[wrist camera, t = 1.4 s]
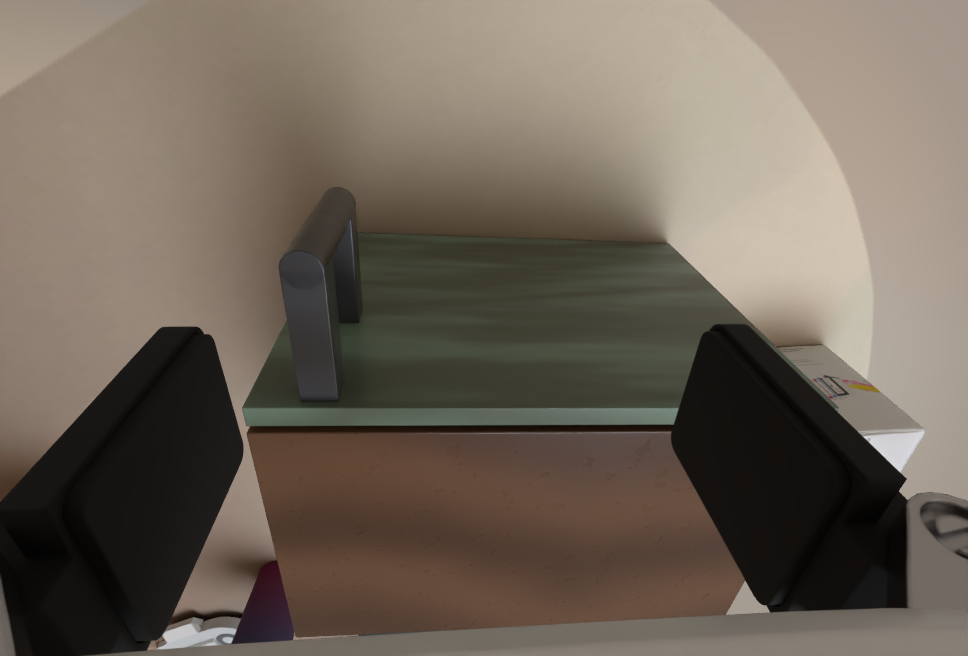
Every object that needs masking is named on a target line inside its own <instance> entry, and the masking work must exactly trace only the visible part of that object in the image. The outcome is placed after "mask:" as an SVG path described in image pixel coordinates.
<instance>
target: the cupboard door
mask: <svg viewBox="0 0 968 656" xmlns="http://www.w3.org/2000/svg"><path fill="white" fill-rule="evenodd" d="M279 273H280V279H281V285H282V291H283V298H284V304H285V310H286V316H287V321H286V323H285V325H284V327H283V329H282V331H281V333H280V335H279V337H278V338H277V340H276V342H275V344H274V346H273V348H272V350H271V352H270V354H269V356H268V358H267V360H266V362H265V364H264V366H263V368H262V370H261V372H260V374H259V376H258V378H257V380H256V382H255V384H254V386H253V388H252V390H251V392H250V394H249V396H248V398H247V400H246V402H245V404H244V406H243V407H242V410H243V414H244V418H245V423H246V426H419V425H674V422H675V419H676V416H677V412H678V409H679V406H680V403H681V400H682V396H683V393H684V390H685V387H686V383H687V380H688V377H689V374H690V371H691V367H692V364H693V361H694V358H695V355H696V351H697V348H698V345H699V342H700V339H701V336H702V334H703V333H704V332H706V331H709V330H710V329H711V327H712V326H713V325H715V324H746V325H748V326H749V327H751V328H752V329H753V330H754V331H755V332H756V333H757V334H758V335H759V336H760V337H761V338H762V339H763V340H764V341H765V342H766V343H767V344H768V345H769V346H770V347H771V348H772V349H773V350H774V351H775V352H776V353H777V354H778V355H780V356H781V357H782V358H783V359H784V360H785V361H786V362H787V363H788V364H789V365H790V366H791V367H792V368H793V369H794V370H795V371H796V372H797V373H798V374H799V375H800V376H801V377H802V378H803V379H804V380H805V381H806V382H807V383H808V384H809V385H810V386H811V387H813V388H814V389H815V390H816V391H817V392H818V393H819V394H820V395H821V396H822V397H823V398H824V399H825V400H826V401H827V402H828V403H829V404H830V405H831V406H832V407H833V408H834V409H835V410H836V411H837V412H838V410H839V407H838V406H837V405H836V404H835V403H834V402H833V401H832V400H831V399H830V398H829V397H827V396H826V395H825V394H824V393H823V392H822V391H821V390H820V389H819V388H818V387H817V386H816V385H815V384H814V383H813V382H812V381H811V380H810V379H809V378H808V377H807V376H806V375H805V374H804V373H803V372H802V371H801V370H800V369H798V368H797V367H796V366H795V365H794V364H793V363H792V362H791V361H790V360H789V359H788V358H787V357H786V356H785V355H784V354H783V353H782V352H781V351H780V350H779V349H778V348H777V347H776V346H775V345H774V344H773V343H772V342H770V341H769V340H768V339H767V338H766V337H765V336H764V335H763V334H762V333H761V332H760V331H759V330H758V329H757V328H756V327H755V326H754V325H753V324H752V323H751V322H750V321H749V320H748V319H747V318H746V317H745V316H744V315H742V314H741V313H740V312H739V311H738V310H737V309H736V308H735V307H734V306H733V305H732V304H731V303H730V302H729V301H728V300H727V299H726V298H725V297H724V296H723V295H722V294H721V293H720V292H719V291H718V290H717V289H716V288H714V287H713V286H712V285H711V284H710V283H709V282H708V281H707V280H706V279H705V278H704V277H703V276H702V275H701V274H700V273H699V272H698V271H697V270H696V269H695V268H694V267H693V266H692V265H691V264H690V263H689V262H688V261H687V260H685V259H684V258H683V257H682V256H681V255H680V254H679V253H678V252H677V251H676V250H675V249H674V248H673V247H672V246H671V245H670V244H668V243H639V242H609V241H580V240H551V239H522V238H492V237H463V236H434V235H405V234H376V233H358V230H357V215H356V202H355V199H354V197H353V195H352V194H351V193H350V192H349V191H348V190H347V189H345V188H342V187H333V188H330V189H328V190H327V191H326V192H325V193H324V195H323V196H322V198H321V199H320V201H319V202H318V204H317V206H316V207H315V209H314V210H313V212H312V213H311V215H310V216H309V218H308V219H307V221H306V222H305V224H304V225H303V227H302V228H301V230H300V231H299V233H298V234H297V236H296V237H295V239H294V240H293V242H292V243H291V245H290V246H289V248H288V249H287V251H286V252H285V254H284V255H283V257H282V258H281V260H280V263H279Z"/></svg>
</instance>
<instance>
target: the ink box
mask: <svg viewBox="0 0 968 656" xmlns="http://www.w3.org/2000/svg"><path fill="white" fill-rule="evenodd" d="M778 349H779V350H780V351H781V352H782V353H783V354H784V355H785V356H786V357H787V358H788V359H789V360H790V361H791V362H792V363H793V364H794V365H795V366H796V367H797V368H798V369H800V370H801V371H802V372H803V373H804V374H805V375H806V376H807V377H808V378H809V379H810V380H811V381H812V382H813V383H814V384H815V385H816V386H817V387H818V388H819V389H820V390H821V391H822V392H823V393H824V394H825V395H826V396H827V397H829V398H830V399H831V400H832V401H833V402H834V403H835V404H836V405H837V406H838V407H839V410H838V413H839V414H840V415H841V416H842V417H843V418H844V419H845V420H847V421H848V422H849V423H850V424H851V425H852V426H853V427H854V428H855V429H856V430H857V431H858V432H859V433H860V434H861V435H862V436H863V437H864V438H865V439H866V440H867V441H868V442H869V443H870V444H871V445H872V446H873V447H874V448H875V449H876V450H877V451H878V452H880V453H881V454H882V455H883V456H884V457H885V458H886V459H887V460H888V461H889V462H890V463H891V464H892V465H893V466H894V467H895V468H896V469H897V470H898V471H899V472H901V470H902V469H903V467H904V465H905V464H906V462H907V460H908V458H909V457H910V456H911V454H912V452H913V451H914V449H915V448H916V446H917V444H918V443H919V441H920V440H921V438H922V437H923V435H924V433H925V429H924V428H923V427H921V426H920V425H919V424H918V423H917V422H915V421H914V420H913V419H912V418H911V417H910V416H908V415H907V414H906V413H905V412H903V410H901V409H900V408H898V406H897V405H895V404H894V403H893V402H892V401H891V400H889V399H888V398H887V397H886V396H885V395H883V394H882V393H881V392H880V391H879V390H878V389H876V388H875V387H874V386H873V385H872V384H870V383H869V382H868V381H867V380H865V379H864V378H863V377H862V376H861V375H860V374H859V373H857V372H856V371H855V370H854V369H852V368H851V367H850V366H849V365H848V364H847V363H845V362H844V361H843V360H842V359H841V358H840V357H838V356H837V355H836V354H835V353H834V352H832V351H831V350H830V349H829V348H828V347H826V346H825V345H814V346H794V347H781V348H778Z"/></svg>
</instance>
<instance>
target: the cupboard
mask: <svg viewBox="0 0 968 656" xmlns="http://www.w3.org/2000/svg"><path fill="white" fill-rule="evenodd" d="M672 428H673V425H419V426H250V428H249V430H248V432H247V437H248V441H249V445H250V449H251V454H252V458H253V462H254V466H255V470H256V474H257V478H258V483H259V487H260V491H261V495H262V499H263V503H264V507H265V512H266V516H267V520H268V524H269V528H270V532H271V536H272V541H273V545H274V549H275V553H276V557H277V561H278V566H279V570H280V574H281V578H282V582H283V586H284V590H285V595H286V599H287V603H288V607H289V611H290V615H291V619H292V624H293V628H294V632H295V636H296V637H314V636H336V635H358V634H381V633H403V632H425V631H448V630H466V629H483V628H500V627H517V626H534V625H551V624H569V623H586V622H603V621H621V620H640V619H658V618H677V617H696V616H715V615H726V613H727V611H728V610H729V608H730V606H731V604H732V603H733V601H734V599H735V597H736V596H737V594H738V592H739V590H740V589H741V587H742V585H743V583H744V581H745V579H744V577H743V575H742V573H741V572H740V570H739V568H738V566H737V564H736V563H735V561H734V559H733V557H732V555H731V553H730V552H729V550H728V548H727V546H726V544H725V543H724V541H723V539H722V537H721V535H720V534H719V532H718V530H717V528H716V526H715V524H714V523H713V521H712V519H711V517H710V515H709V514H708V512H707V510H706V508H705V506H704V505H703V503H702V501H701V499H700V497H699V496H698V494H697V492H696V490H695V488H694V486H693V485H692V483H691V481H690V479H689V477H688V476H687V474H686V472H685V470H684V468H683V467H682V465H681V463H680V461H679V459H678V458H677V456H676V454H675V452H674V450H673V448H672V444H671V432H672Z"/></svg>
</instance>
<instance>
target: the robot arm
mask: <svg viewBox="0 0 968 656" xmlns="http://www.w3.org/2000/svg"><path fill="white" fill-rule="evenodd" d="M671 444H672V448H673V450H674V452H675V454H676V456H677V458H678V459H679V461H680V463H681V465H682V467H683V468H684V470H685V472H686V474H687V476H688V477H689V479H690V481H691V483H692V485H693V486H694V488H695V490H696V492H697V494H698V496H699V497H700V499H701V501H702V503H703V505H704V506H705V508H706V510H707V512H708V514H709V515H710V517H711V519H712V521H713V523H714V524H715V526H716V528H717V530H718V532H719V534H720V535H721V537H722V539H723V541H724V543H725V544H726V546H727V548H728V550H729V552H730V553H731V555H732V557H733V559H734V561H735V563H736V564H737V566H738V568H739V570H740V572H741V573H742V575H743V577H744V579H745V581H746V582H747V584H748V586H749V588H750V590H751V591H752V593H753V595H754V597H755V598H756V600H757V601H758V602H759V603H760V604H762V605H767V607H768V609H769V611H770V613H753V614H735V615H715V616H696V617H677V618H658V619H640V620H621V621H603V622H586V623H569V624H551V625H534V626H517V627H500V628H483V629H466V630H449V631H433V632H416V633H399V634H384V635H368V636H352V637H337V638H321V639H305V640H290V641H274V642H259V643H243V644H227V645H212V646H198V647H186V648H174V649H161V650H149V651H147V649H148V647H149V645H150V642H151V641H153V640H158V639H159V638H160V637H161V636H162V635H163V634H164V632H165V630H166V628H167V626H168V624H169V622H170V620H171V617H172V615H173V613H174V611H175V608H176V606H177V604H178V602H179V600H180V597H181V595H182V593H183V591H184V588H185V586H186V584H187V582H188V580H189V577H190V575H191V573H192V571H193V568H194V566H195V564H196V562H197V560H198V557H199V555H200V553H201V551H202V548H203V546H204V544H205V542H206V540H207V537H208V535H209V533H210V531H211V528H212V526H213V524H214V522H215V520H216V517H217V515H218V513H219V511H220V508H221V506H222V504H223V502H224V500H225V497H226V495H227V493H228V491H229V488H230V486H231V484H232V482H233V479H234V477H235V475H236V473H237V471H238V468H239V466H240V464H241V461H242V458H243V441H242V438H241V434H240V431H239V427H238V423H237V420H236V416H235V413H234V409H233V406H232V402H231V399H230V395H229V392H228V388H227V384H226V381H225V377H224V374H223V370H222V367H221V363H220V360H219V356H218V352H217V349H216V345H215V342H214V339H213V338H212V336H211V335H209V334H204V333H203V331H202V330H201V329H200V328H198V327H162V328H160V329H159V330H158V331H157V332H156V333H155V334H154V335H153V336H152V337H151V338H150V340H149V341H148V342H147V343H146V344H145V345H144V346H143V347H142V348H141V349H140V350H139V352H138V353H137V354H136V355H135V356H134V357H133V358H132V359H131V360H130V361H129V362H128V364H127V365H126V366H125V367H124V368H123V369H122V370H121V371H120V372H119V373H118V374H117V376H116V377H115V378H114V379H113V380H112V381H111V382H110V383H109V384H108V385H107V386H106V388H105V389H104V390H103V391H102V392H101V393H100V394H99V395H98V396H97V397H96V398H95V400H94V401H93V402H92V403H91V404H90V405H89V406H88V407H87V408H86V409H85V410H84V412H83V413H82V414H81V415H80V416H79V417H78V418H77V419H76V420H75V421H74V423H73V424H72V425H71V426H70V427H69V428H68V429H67V430H66V431H65V432H64V433H63V435H62V436H61V437H60V438H59V439H58V440H57V441H56V442H55V443H54V444H53V445H52V447H51V448H50V449H49V450H48V451H47V452H46V453H45V454H44V455H43V456H42V457H41V459H40V460H39V461H38V462H37V463H36V464H35V465H34V466H33V467H32V468H31V469H30V471H29V472H28V473H27V474H26V475H25V476H24V477H23V478H22V479H21V480H20V481H19V483H18V484H17V485H16V486H15V487H14V488H13V489H12V490H11V491H10V492H9V493H8V495H7V496H6V497H5V498H4V499H3V500H2V501H1V502H0V656H968V501H966V500H963V499H960V498H957V497H953V496H950V495H947V494H941V493H934V492H926V493H918V494H916V495H914V496H913V497H911V498H910V499H909V500H907V499H906V498H905V497H904V496H903V495H902V494H901V493H900V492H899V490H900V488H901V487H902V485H903V484H904V482H905V481H906V478H905V477H904V476H903V475H902V474H901V473H900V472H899V471H898V470H897V469H896V468H895V467H894V466H893V465H892V464H891V463H890V462H889V461H888V460H887V459H886V458H885V457H884V456H883V455H882V454H881V453H880V452H878V451H877V450H876V449H875V448H874V447H873V446H872V445H871V444H870V443H869V442H868V441H867V440H866V439H865V438H864V437H863V436H862V435H861V434H860V433H859V432H858V431H857V430H856V429H855V428H854V427H853V426H852V425H851V424H850V423H849V422H848V421H847V420H845V419H844V418H843V417H842V416H841V415H840V414H839V413H838V412H837V411H836V410H835V409H834V408H833V407H832V406H831V405H830V404H829V403H828V402H827V401H826V400H825V399H824V398H823V397H822V396H821V395H820V394H819V393H818V392H817V391H816V390H815V389H814V388H813V387H811V386H810V385H809V384H808V383H807V382H806V381H805V380H804V379H803V378H802V377H801V376H800V375H799V374H798V373H797V372H796V371H795V370H794V369H793V368H792V367H791V366H790V365H789V364H788V363H787V362H786V361H785V360H784V359H783V358H782V357H781V356H780V355H778V354H777V353H776V352H775V351H774V350H773V349H772V348H771V347H770V346H769V345H768V344H767V343H766V342H765V341H764V340H763V339H762V338H761V337H760V336H759V335H758V334H757V333H756V332H755V331H754V330H753V329H752V328H751V327H749V326H748V325H746V324H715V325H713V326H712V327H711V329H710V330H709V331H706V332H704V333H703V334H702V336H701V339H700V342H699V345H698V348H697V351H696V355H695V358H694V361H693V364H692V367H691V371H690V374H689V377H688V380H687V383H686V387H685V390H684V393H683V396H682V400H681V403H680V406H679V409H678V412H677V416H676V419H675V422H674V425H673V428H672V432H671Z"/></svg>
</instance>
